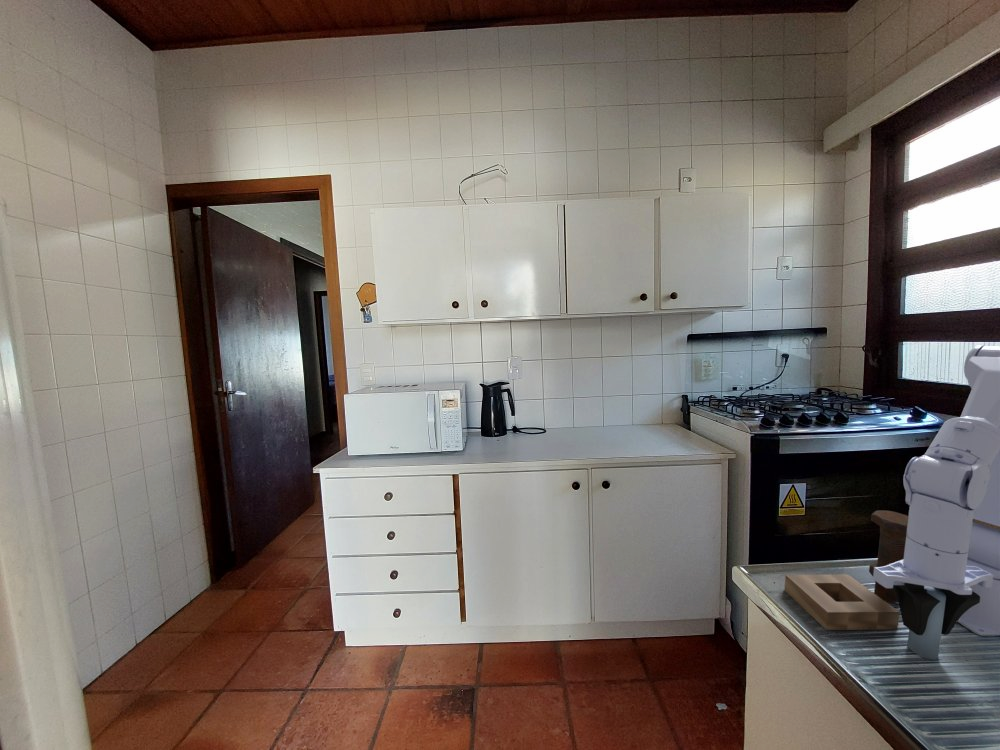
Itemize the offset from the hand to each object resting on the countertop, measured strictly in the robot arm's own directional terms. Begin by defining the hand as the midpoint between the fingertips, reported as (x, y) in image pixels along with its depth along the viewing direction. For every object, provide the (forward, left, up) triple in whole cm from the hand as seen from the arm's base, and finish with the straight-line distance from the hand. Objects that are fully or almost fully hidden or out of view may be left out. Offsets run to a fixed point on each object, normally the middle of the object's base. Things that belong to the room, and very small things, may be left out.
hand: (925, 629), depth 54 cm
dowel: (0, 0, -3) cm, 3 cm away
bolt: (-5, -11, -4) cm, 13 cm away
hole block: (+5, -8, -3) cm, 10 cm away
